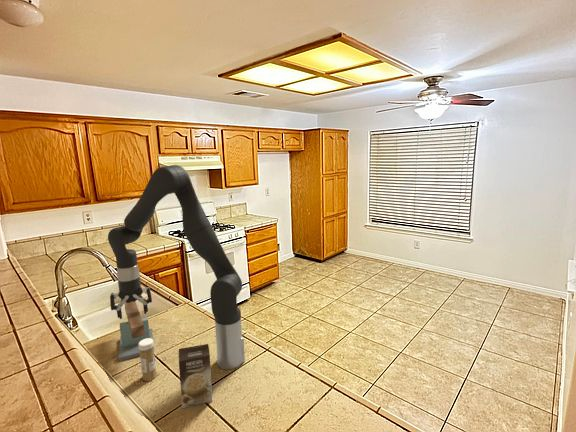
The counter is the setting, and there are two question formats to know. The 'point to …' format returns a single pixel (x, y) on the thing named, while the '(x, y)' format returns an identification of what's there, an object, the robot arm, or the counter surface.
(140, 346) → the sprinkles bottle
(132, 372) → the counter surface
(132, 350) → the ridge stand
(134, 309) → the walnut bar
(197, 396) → the coffee box
